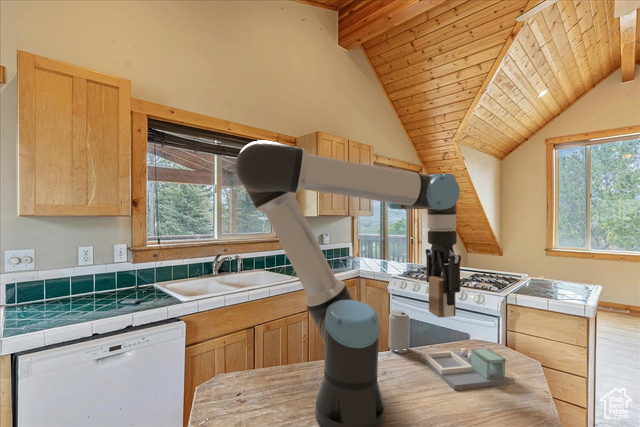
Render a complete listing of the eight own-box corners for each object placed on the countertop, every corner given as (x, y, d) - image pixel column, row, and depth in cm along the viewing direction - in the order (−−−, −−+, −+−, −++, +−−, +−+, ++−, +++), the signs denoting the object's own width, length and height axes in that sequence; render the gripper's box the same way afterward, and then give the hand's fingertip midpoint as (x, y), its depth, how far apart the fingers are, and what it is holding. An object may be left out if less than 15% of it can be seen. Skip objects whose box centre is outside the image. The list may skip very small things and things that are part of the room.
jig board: (453, 390, 76) (453, 377, 76) (420, 359, 92) (420, 348, 92) (508, 383, 80) (508, 371, 80) (467, 355, 95) (467, 344, 95)
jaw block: (438, 317, 82) (438, 280, 82) (428, 311, 87) (428, 276, 87) (455, 316, 83) (455, 279, 83) (444, 310, 88) (444, 275, 87)
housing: (486, 378, 80) (487, 360, 79) (470, 366, 85) (471, 349, 85) (504, 376, 81) (505, 358, 81) (488, 365, 87) (488, 348, 87)
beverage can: (409, 355, 94) (410, 317, 94) (388, 352, 96) (389, 315, 96) (407, 346, 101) (408, 310, 101) (388, 344, 102) (389, 308, 102)
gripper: (476, 231, 76) (476, 323, 77) (436, 227, 94) (436, 301, 94) (449, 232, 75) (449, 326, 75) (413, 228, 92) (414, 303, 93)
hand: (442, 312), depth 85 cm, fingers closed on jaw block, 5 cm apart
